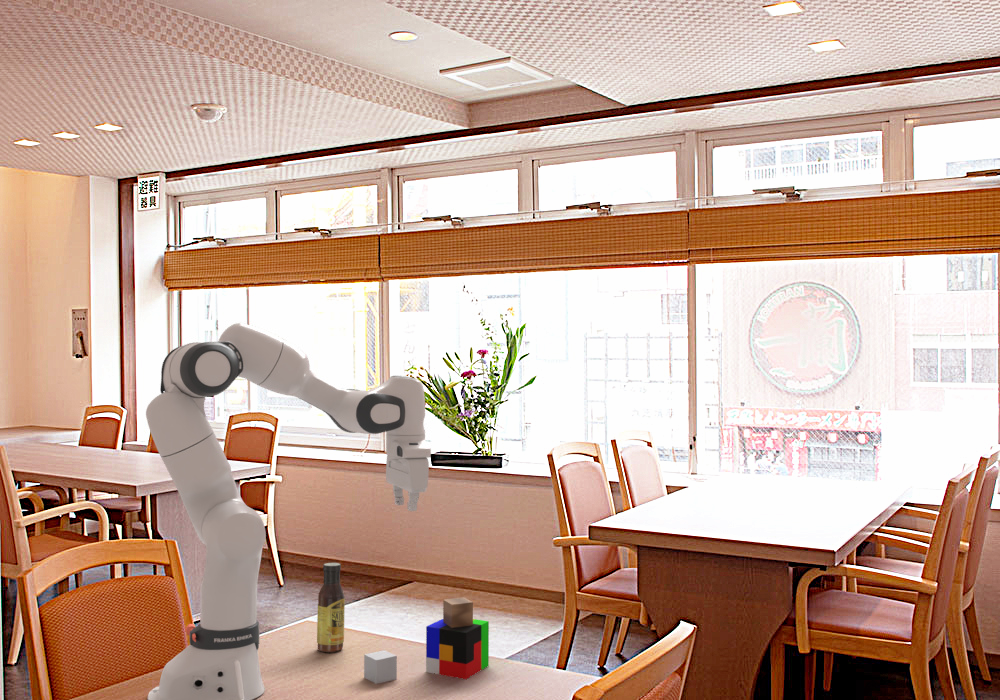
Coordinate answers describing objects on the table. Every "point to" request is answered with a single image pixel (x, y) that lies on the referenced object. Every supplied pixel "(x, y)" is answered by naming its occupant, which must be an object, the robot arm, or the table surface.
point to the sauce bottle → (331, 611)
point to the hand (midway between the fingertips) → (405, 507)
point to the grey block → (380, 666)
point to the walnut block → (458, 612)
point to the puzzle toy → (457, 648)
